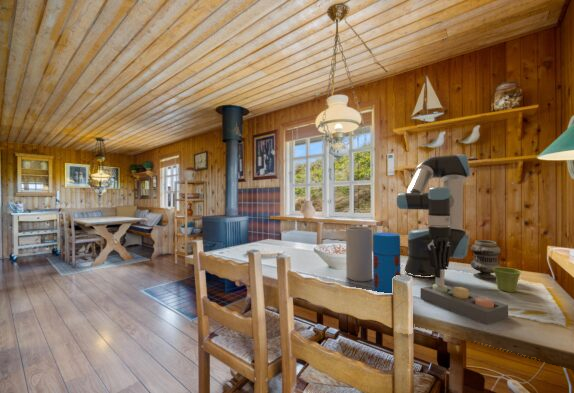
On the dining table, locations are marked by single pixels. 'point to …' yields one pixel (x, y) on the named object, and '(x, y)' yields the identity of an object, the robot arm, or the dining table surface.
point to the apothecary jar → (485, 258)
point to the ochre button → (460, 293)
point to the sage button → (440, 288)
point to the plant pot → (506, 278)
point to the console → (465, 305)
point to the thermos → (385, 260)
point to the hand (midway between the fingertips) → (439, 285)
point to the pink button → (484, 303)
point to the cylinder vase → (359, 253)
